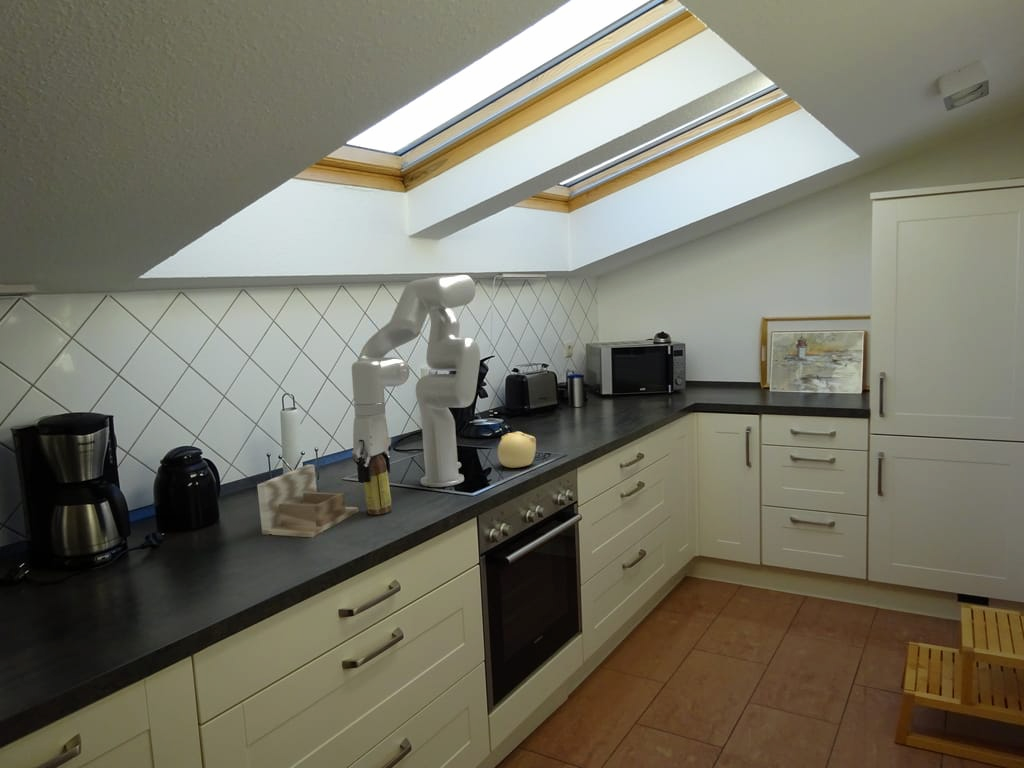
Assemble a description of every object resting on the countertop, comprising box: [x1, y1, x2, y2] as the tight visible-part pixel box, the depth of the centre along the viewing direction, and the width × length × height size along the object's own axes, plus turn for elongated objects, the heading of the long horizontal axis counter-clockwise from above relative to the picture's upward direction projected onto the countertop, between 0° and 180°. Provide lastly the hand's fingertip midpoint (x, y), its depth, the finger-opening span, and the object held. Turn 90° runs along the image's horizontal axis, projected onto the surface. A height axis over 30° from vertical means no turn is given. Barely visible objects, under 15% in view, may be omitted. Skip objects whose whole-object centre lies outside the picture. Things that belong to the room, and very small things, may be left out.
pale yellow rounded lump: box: [497, 430, 537, 469], centre depth 221 cm, size 11×12×11 cm
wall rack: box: [256, 464, 359, 538], centre depth 175 cm, size 20×14×12 cm
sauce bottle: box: [362, 454, 392, 516], centre depth 179 cm, size 7×6×20 cm
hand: (374, 477), depth 179 cm, fingers open, 9 cm apart
